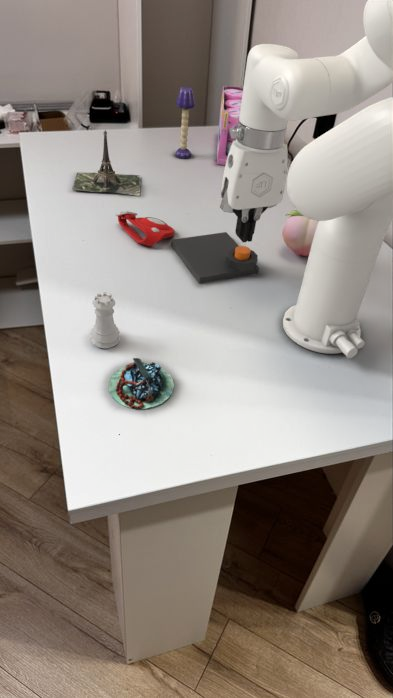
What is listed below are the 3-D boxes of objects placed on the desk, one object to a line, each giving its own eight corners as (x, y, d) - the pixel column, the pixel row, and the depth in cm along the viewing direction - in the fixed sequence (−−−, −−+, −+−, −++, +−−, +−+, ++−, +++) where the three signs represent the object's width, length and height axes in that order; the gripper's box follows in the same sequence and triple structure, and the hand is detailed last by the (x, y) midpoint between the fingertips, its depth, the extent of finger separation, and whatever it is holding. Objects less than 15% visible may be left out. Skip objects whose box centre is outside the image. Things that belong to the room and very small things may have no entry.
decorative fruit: (326, 249, 108) (338, 203, 101) (322, 269, 102) (335, 222, 95) (280, 240, 109) (290, 194, 103) (274, 259, 103) (284, 211, 97)
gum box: (246, 169, 136) (254, 114, 128) (216, 167, 136) (222, 111, 127) (244, 138, 155) (251, 87, 146) (217, 135, 155) (222, 85, 146)
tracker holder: (176, 220, 110) (177, 233, 101) (169, 240, 112) (170, 254, 103) (118, 203, 107) (114, 214, 98) (113, 224, 109) (109, 236, 100)
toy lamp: (190, 160, 138) (196, 91, 128) (173, 158, 138) (176, 90, 127) (191, 153, 142) (196, 86, 131) (173, 152, 142) (177, 84, 131)
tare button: (252, 259, 97) (253, 252, 96) (238, 261, 96) (239, 254, 95) (245, 252, 99) (246, 244, 98) (231, 254, 98) (232, 246, 97)
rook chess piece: (114, 352, 79) (113, 309, 74) (86, 346, 79) (83, 303, 74) (124, 334, 82) (123, 291, 77) (96, 328, 83) (94, 286, 77)
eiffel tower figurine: (140, 177, 127) (141, 119, 119) (139, 195, 120) (140, 135, 111) (77, 174, 126) (73, 115, 117) (72, 192, 118) (67, 131, 110)
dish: (182, 388, 71) (138, 353, 69) (147, 428, 71) (102, 395, 69) (176, 372, 78) (136, 340, 76) (144, 408, 79) (104, 378, 77)
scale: (260, 274, 99) (263, 260, 97) (199, 285, 94) (201, 270, 92) (227, 237, 108) (228, 224, 106) (170, 245, 104) (171, 232, 102)
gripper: (228, 147, 78) (214, 254, 90) (313, 141, 84) (289, 243, 96) (208, 129, 83) (197, 233, 95) (289, 124, 89) (269, 223, 101)
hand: (243, 238), depth 96 cm, fingers closed
